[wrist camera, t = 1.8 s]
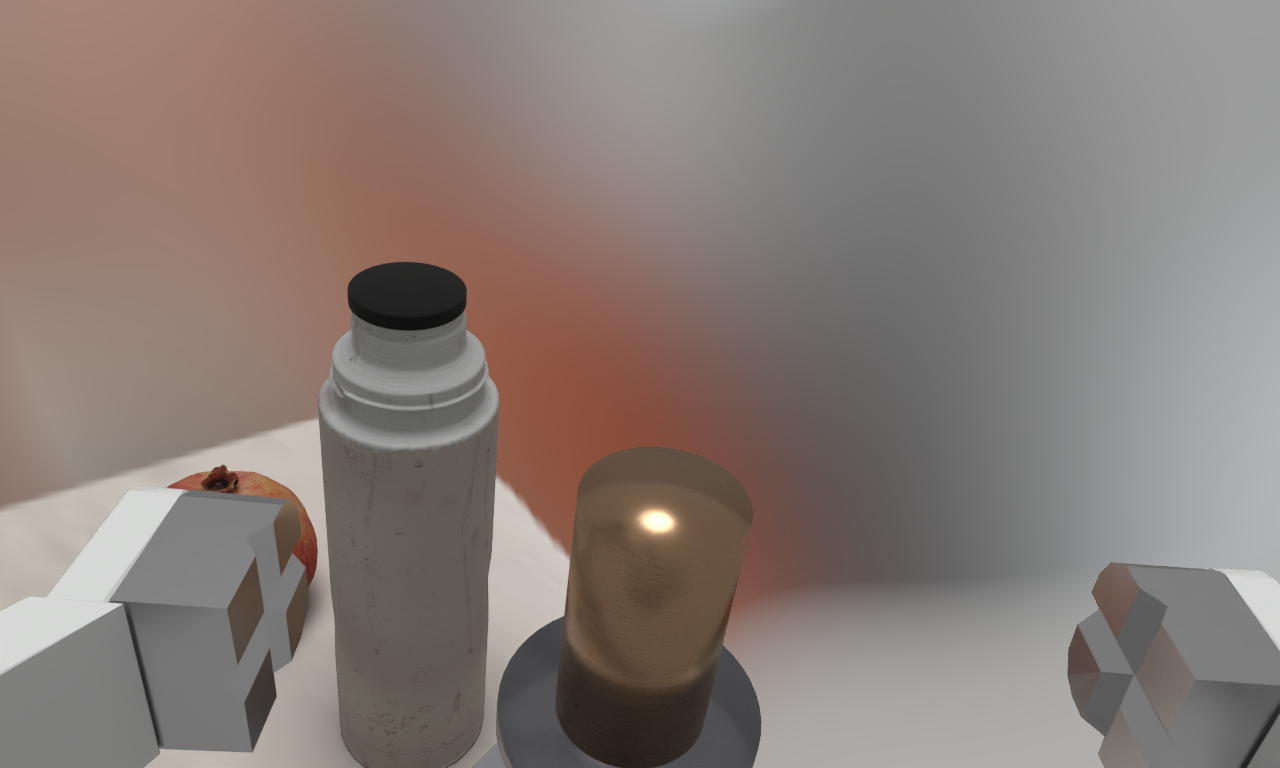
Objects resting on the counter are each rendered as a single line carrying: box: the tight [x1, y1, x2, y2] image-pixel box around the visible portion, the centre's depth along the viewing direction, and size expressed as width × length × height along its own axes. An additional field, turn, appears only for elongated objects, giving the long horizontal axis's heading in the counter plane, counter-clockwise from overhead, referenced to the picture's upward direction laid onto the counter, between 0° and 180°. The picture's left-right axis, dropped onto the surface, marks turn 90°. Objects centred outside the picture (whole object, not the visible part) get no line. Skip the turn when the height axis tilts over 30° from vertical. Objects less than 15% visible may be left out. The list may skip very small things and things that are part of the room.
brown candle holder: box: [496, 447, 761, 768], centre depth 28 cm, size 10×10×19 cm
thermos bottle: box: [318, 262, 499, 768], centre depth 49 cm, size 8×8×28 cm
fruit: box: [167, 465, 318, 587], centre depth 59 cm, size 11×10×10 cm
